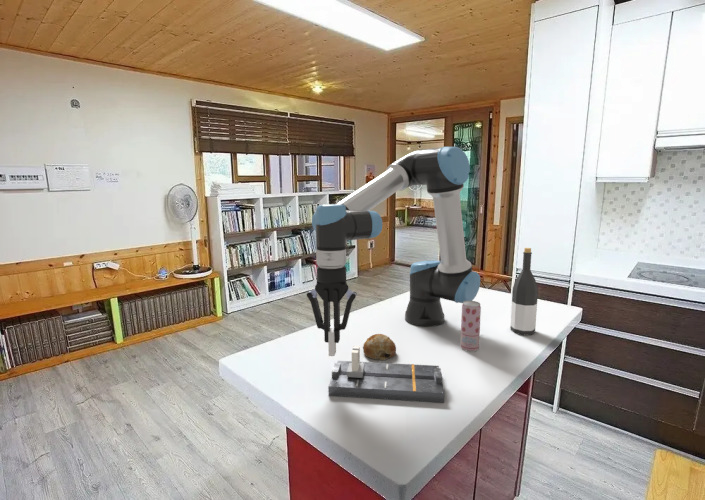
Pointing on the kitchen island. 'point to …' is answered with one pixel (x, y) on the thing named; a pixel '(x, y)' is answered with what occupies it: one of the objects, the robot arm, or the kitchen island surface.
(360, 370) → the fader
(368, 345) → the bread roll
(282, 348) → the kitchen island surface
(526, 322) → the wine bottle
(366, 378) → the console
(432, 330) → the kitchen island surface
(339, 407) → the kitchen island surface
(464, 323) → the beverage can
